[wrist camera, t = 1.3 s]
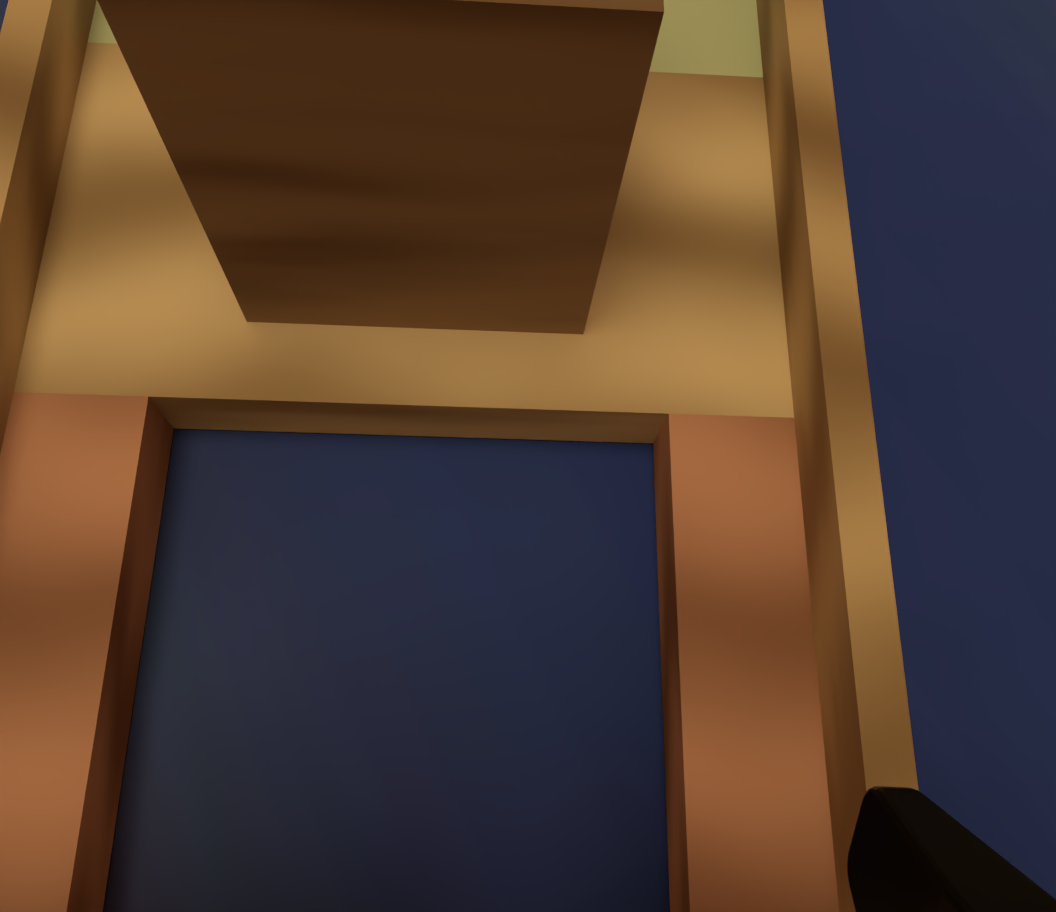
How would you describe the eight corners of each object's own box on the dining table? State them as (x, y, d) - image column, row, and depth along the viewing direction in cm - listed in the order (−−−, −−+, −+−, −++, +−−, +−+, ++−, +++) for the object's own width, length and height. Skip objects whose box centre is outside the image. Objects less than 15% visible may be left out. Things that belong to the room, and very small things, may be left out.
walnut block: (583, 334, 23) (663, 12, 13) (246, 322, 22) (88, -21, 13) (580, 68, 26) (645, -356, 16) (280, 52, 25) (168, -393, 16)
